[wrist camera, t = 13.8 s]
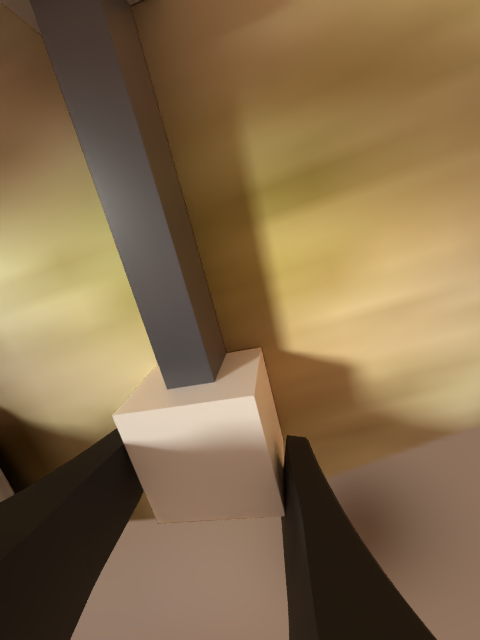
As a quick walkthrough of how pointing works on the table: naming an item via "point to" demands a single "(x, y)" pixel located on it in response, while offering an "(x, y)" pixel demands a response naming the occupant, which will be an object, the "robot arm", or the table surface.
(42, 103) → the table surface
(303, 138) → the table surface
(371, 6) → the table surface
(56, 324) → the table surface
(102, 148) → the dumbbell with block ends
